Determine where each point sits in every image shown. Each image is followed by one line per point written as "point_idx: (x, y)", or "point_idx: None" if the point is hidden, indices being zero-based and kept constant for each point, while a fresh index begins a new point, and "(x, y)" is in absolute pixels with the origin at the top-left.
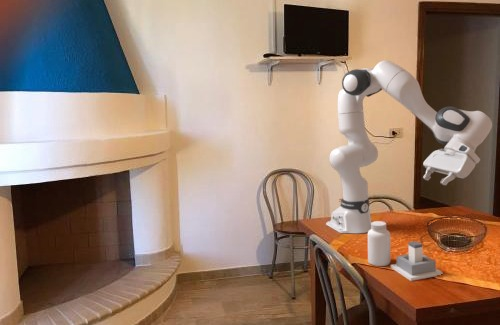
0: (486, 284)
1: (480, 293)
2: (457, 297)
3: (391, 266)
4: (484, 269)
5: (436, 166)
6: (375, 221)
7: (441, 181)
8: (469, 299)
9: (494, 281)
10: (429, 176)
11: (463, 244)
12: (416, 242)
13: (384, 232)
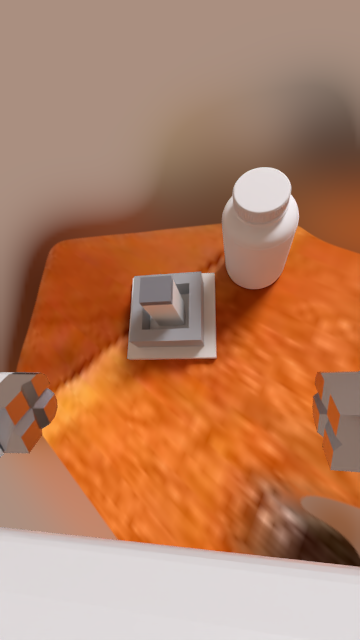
0: None
1: (31, 372)
2: (42, 322)
3: (210, 274)
4: (109, 481)
5: (219, 587)
6: (287, 186)
7: (17, 374)
8: (26, 336)
9: (52, 444)
10: (333, 442)
11: None
12: (159, 295)
13: (232, 217)
